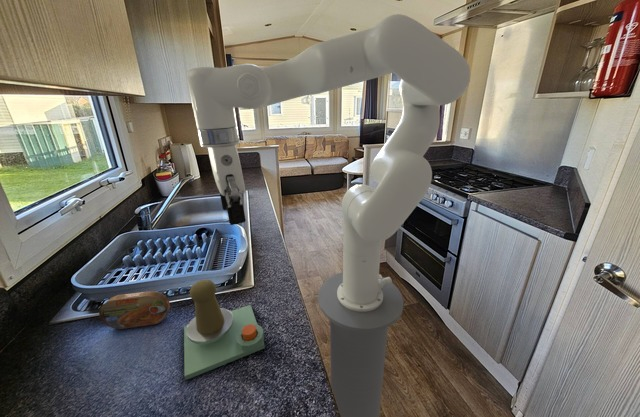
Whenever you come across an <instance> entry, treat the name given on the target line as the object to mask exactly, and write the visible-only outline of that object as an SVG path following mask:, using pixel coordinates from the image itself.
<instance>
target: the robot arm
mask: <svg viewBox="0 0 640 417" xmlns="http://www.w3.org/2000/svg"><path fill="white" fill-rule="evenodd" d="M390 74H394V75H395V76H396V77H397V78H399V79H400V82H399V94H400V98H401V103H402V113H401V118H400V120H399V122H398V124H397V126H396V127H395V128H394V131H393V132H392V134H391V135H390V137H388V139H387V140H386V142H385V144H384V145H383V146H382V148H381V149H380V150H379V152H378V153H377V155H376V156H375V157H374V159H373V161H372V162H371V164H370V175H371V177H372V179H373V180H374V181H375V183H376V184H377V187H376V188H374V187H373V186H370V185H368V184H364V183H363V184H355V185H353V186H351V187H349V189H348V190H347V191H346V192H345V193H344V195H343V198H342V200H341V219H342V232H343V233H342V234H343V235H342V236H343V237H342V238H343V241H342V242H343V243H342V244H343V245H342V246H343V247H342V256H343V257H342V272H343V283H342V284H341V285H340V286H339V287H338V290H337V298H338V300H339V302H340V303H341V304H342V305H343V306H345V307H346V308H348V309H350V310H353V311H358V312H367V311H372V310H374V309H376V308H378V307H379V306H380V305H381V303H382V301H383V292H382V290H381V288H383V286H384V285H388V284H391V283H393V280H392V278H391V277H390V276H387V277H384V279H382V277H383V276H382V274H380V266H381V263H380V262H381V251H382V242H384V241H386V240H388V239H390V238H391V237H392V236H393V235H394V234H396V232H397V231H398V230H399V229H400V228H401V227H402V225H403V224H404V223H405V221H406V220H407V219H408V218H409V216H410V215H411V214H412V212H413V211H414V210H415V209H416V208H417V206H418V205H419V204H420V202H421V201H422V200H423V199H424V197H425V196H426V194H427V192H428V191H429V189H430V186H431V184H432V181H433V180H432V179H433V170H432V167H431V166H432V165H431V164H430V163H429V161H428V160H427V159H426V158H425V157H424V156H425V154H426V153H427V151H428V150H429V148H430V147H431V145H432V144H433V142H434V141H435V140H436V137H437V135H438V132H439V129H440V122H441V114H440V106H445V105H449V104H451V103H454V102H455V101H457V100H459V99H460V98H461V97H462V96H463V95H464V94H465V92H466V91H467V90H468V87H469V84H470V82H471V81H470V80H471V69H470V65H469V63H468V61H467V59H466V58H465V56H463V54H462V53H460V52H459V51H458V50H456V49H455V48H454V47H453V46H452V45H451V44H449V43H447V42H446V41H445V40H444V39H442V38H441V37H439V36H438V35H437V34H436V33H434V32H433V31H431V30H430V29H429V28H427V27H426V26H425V25H424V24H422V23H421V22H419V21H417V20H415V19H414V18H412V17H410V16H408V15H406V14H401V13H400V14H399V13H396V14H391V15H389V16H387V17H385V18H384V19H382V20H381V21H380V22H378V23H377V25H375V26H374V27H371V28H368V29H364V30H361V31H357V32H354V33H351V34H347V35H343V36H339V37H335V38H331V39H328V40H324V41H320V42H317V43H315V44H312V45H310V46H309V47H307V48H306V49H304V50H303V51H301V52H300V53H299V54H297V55H295V56H293V57H292V58H289V59H287V60H284V61H281V62H279V63H275V64H272V65H268V66H263V67H260V66H258V65H256V64H253V63H241V64H235V65H231V66H225V67H214V66H201V67H194V68H193V67H192V68H190V69H189V70H187V73H186V82H187V88H188V93H189V95H190V96H189V97H190V101H191V106H192V107H191V108H192V110H193V116H194V120H195V125H196V129H197V134H198V139H199V145H200V147H201V148H207V152H208V157H209V161H210V166H211V171H212V175H213V178H214V181H215V185H216V187H217V189H218V191H219V197H220V202H221V207H222V210H223V211H226V212H227V218H228V222H229V225H230V226H234V225H239V224H244V223H245V222H246V214H245V208H244V204H243V200H242V197H241V193H242V194H244V193H246V185H245V180H244V175H243V170H242V164H241V159H240V155H239V151H238V148H237V145H239V144H241V142H240V136H239V135H240V134H239V130H238V123H237V117H236V116H237V115H236V110H235V108H238V109H239V108H240V109H249V110H256V109H262V108H266V107H268V106H272V105H275V104H279V103H283V102H287V101H290V100H294V99H298V98H301V97H305V96H312V95H313V96H314V95H320V94H323V93H327V92H331V91H334V90H337V89H341V88H344V87H348V86H352V85H355V84H359V83H362V82H366V81H369V80H374V79H377V78H381V77H384V76H386V75H390ZM381 279H382V280H381Z"/></svg>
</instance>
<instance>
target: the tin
mask: <svg viewBox="0 0 640 417" xmlns="http://www.w3.org/2000/svg"><path fill="white" fill-rule="evenodd" d="M170 309H171V303H170V301H169V298H168V296H167V295H165V294H164V293H162V292H160V291H156V290H147V291H140V292H138V291H137V292H132V293H124V294H122V293H121V294H117V295H114V296H112V297H110V298H109V299H108V300H107V301H105V302H104V304H102V305H101V306H100V308H99V310H98V316H99V319H100V320H101V322H102V323H103V324H104V325H106V326H107V327H109V328H112V329H115V330H124V329H131V328H138V327H144V326H145V327H146V326H152V325H153V326H154V325H157V324H159V323H161V322H163V321H165V319H166V318H167V316H168V313H169V311H170Z"/></svg>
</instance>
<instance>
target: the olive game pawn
mask: <svg viewBox="0 0 640 417" xmlns="http://www.w3.org/2000/svg"><path fill="white" fill-rule="evenodd" d="M216 292H217V287H216V284H215V282H213V280H211V279H202V280H199V281H196V282H195V283H194V284H192V286H191V287H190V289H189V297H190V298H191V300H192V301H193V302H194V311H195V312H194V314H195V317H196V328H197V331H198V332H199V333H201V334H210V333H212V332H215V331H217V330H218V329H219V328H220V327H222V325H223V323H224V317H223V314H222V312H221V309H220V308H221V307H220V304H219V301H218V299H217V297H216Z"/></svg>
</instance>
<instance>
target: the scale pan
mask: <svg viewBox="0 0 640 417" xmlns="http://www.w3.org/2000/svg"><path fill="white" fill-rule="evenodd" d="M220 309H221V312H222V314H223V317H224V323H223V325H222V327H220V328H219V329H218V330H217V331H215V332H212V333H210V334H201V333H199V332H198V331H197V328H196V316H194V317H193V318H192V319H191V320H190V322H188V324H187V325H188V327H187V336H188V338H189V340H190V341H191V342H193V343H195V344H209V343H212V342H215V341H217V340H219V339H221V338H222V337H224V336H225V335H226V334H227V333H228V332H229V331H230V329H231V328H232V326H233V321H234V320H233V315H232V313H231V312H230V311H231V310H229V309H227V308H224V307H220Z"/></svg>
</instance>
